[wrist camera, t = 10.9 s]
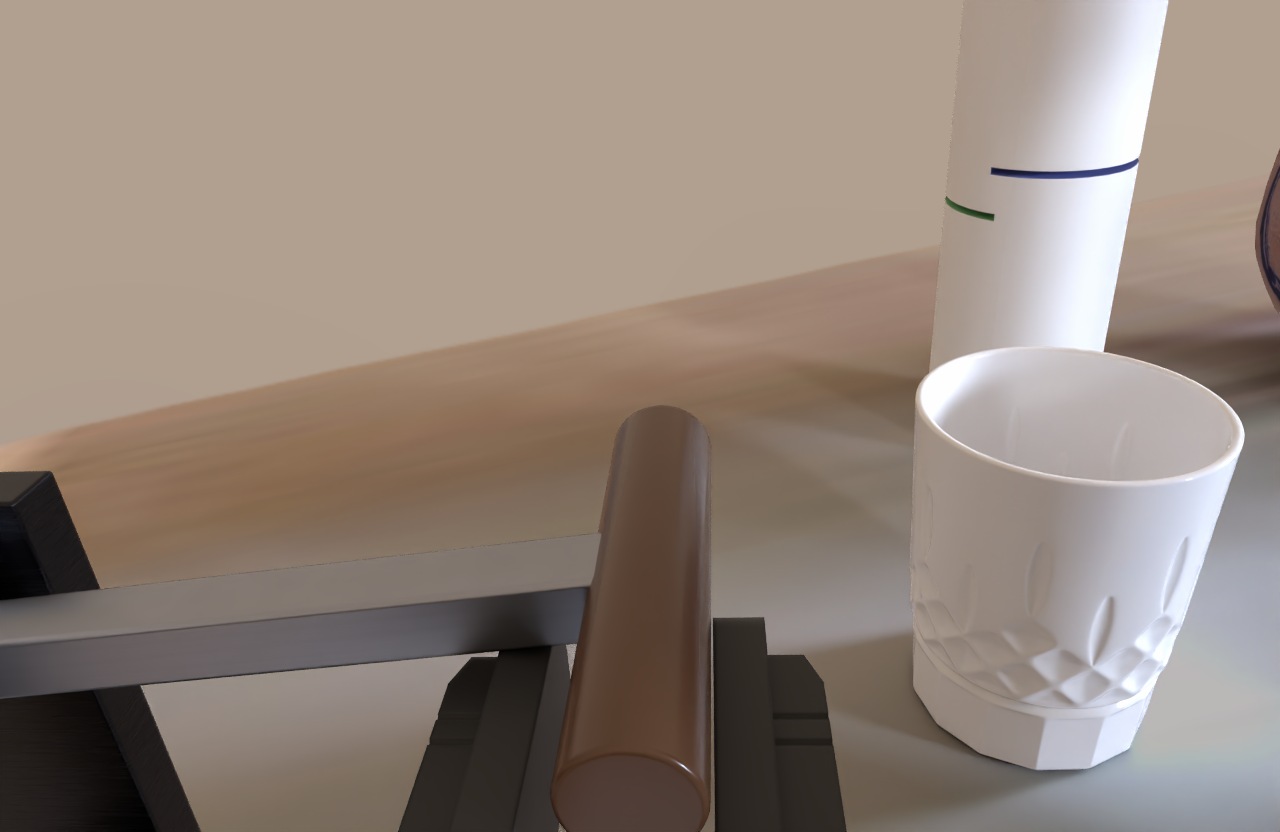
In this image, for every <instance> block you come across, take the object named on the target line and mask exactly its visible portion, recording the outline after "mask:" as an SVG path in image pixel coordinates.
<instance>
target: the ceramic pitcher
mask: <svg viewBox="0 0 1280 832" xmlns="http://www.w3.org/2000/svg"><path fill="white" fill-rule="evenodd" d="M1255 250H1256V258H1257V262H1258V265H1259V268H1260V272H1261V275H1262V278H1263V281H1264V284H1265V286H1266V289H1267V291H1268V294H1269V296H1270V298H1271V300H1272V302H1273V305H1274V307H1275V309H1276V310H1277V312H1278V313H1279V315H1280V150H1279V152H1278V155H1277V157H1276V160H1275V163H1274V166H1273V169H1272V172H1271V174H1270V177H1269V180H1268V183H1267V186H1266V190H1265V193H1264V197H1263V200H1262V204H1261V207H1260V211H1259V214H1258V218H1257V222H1256V237H1255Z"/></svg>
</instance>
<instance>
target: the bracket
mask: <svg viewBox="0 0 1280 832" xmlns="http://www.w3.org/2000/svg"><path fill="white" fill-rule="evenodd" d="M98 589H100V586H99V584H98V582H97V579H96V577H95V574H94V572H93V570H92V567H91V565H90V562H89V560H88V557H87V555H86V553H85V550H84V548H83V545H82V543H81V541H80V538H79V536H78V533H77V531H76V528H75V526H74V524H73V521H72V519H71V516H70V514H69V511H68V509H67V507H66V504H65V502H64V499H63V497H62V495H61V492H60V490H59V487H58V485H57V482H56V480H55V478H54V475H53V473H52V472H50V471H25V472H0V600H9V599H18V598H26V597H35V596H44V595H53V594H62V593H71V592H80V591H89V590H98ZM0 832H201V831H200V828H199V826H198V823H197V821H196V819H195V816H194V814H193V811H192V809H191V807H190V804H189V802H188V799H187V797H186V794H185V792H184V790H183V787H182V785H181V782H180V780H179V777H178V775H177V773H176V770H175V768H174V765H173V763H172V761H171V758H170V756H169V753H168V751H167V748H166V746H165V744H164V741H163V739H162V736H161V734H160V732H159V729H158V727H157V724H156V722H155V719H154V717H153V715H152V712H151V710H150V707H149V705H148V703H147V700H146V698H145V695H144V693H143V690H142V688H141V686H140V685H138V686H128V687H117V688H107V689H96V690H86V691H75V692H65V693H54V694H44V695H33V696H23V697H12V698H2V699H0Z"/></svg>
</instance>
